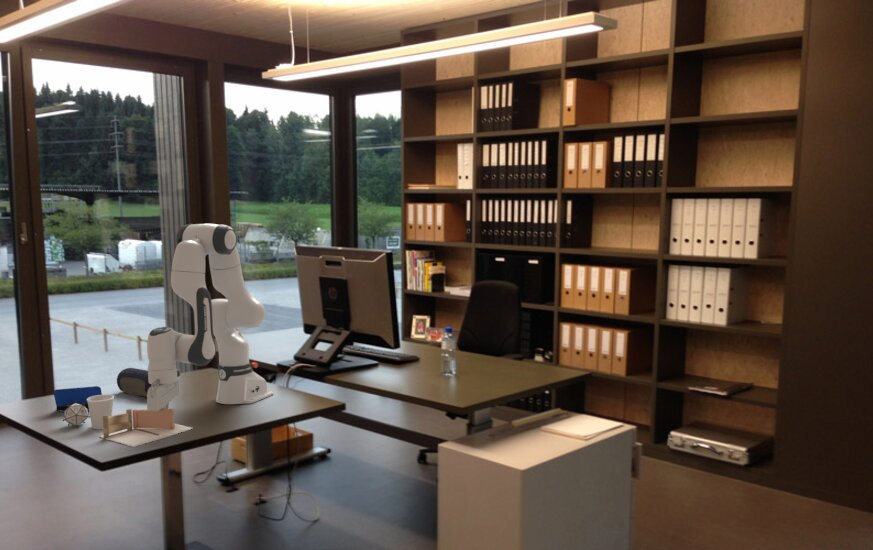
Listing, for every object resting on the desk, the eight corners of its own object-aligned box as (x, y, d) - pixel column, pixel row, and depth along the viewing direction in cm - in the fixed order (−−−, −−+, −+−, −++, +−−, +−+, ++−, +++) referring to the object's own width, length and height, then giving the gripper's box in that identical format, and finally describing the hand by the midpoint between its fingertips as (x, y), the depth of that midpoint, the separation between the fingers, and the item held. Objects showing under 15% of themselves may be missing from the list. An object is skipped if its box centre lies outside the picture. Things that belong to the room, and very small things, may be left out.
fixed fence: (130, 430, 237) (129, 408, 236) (133, 430, 236) (132, 409, 236) (102, 438, 229) (101, 416, 228) (105, 438, 228) (104, 416, 227)
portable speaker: (112, 393, 285) (111, 369, 284) (134, 388, 294) (133, 364, 293) (153, 402, 272) (152, 376, 271) (175, 396, 281) (174, 371, 280)
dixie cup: (105, 431, 237) (103, 401, 236) (82, 429, 238) (81, 400, 237) (120, 423, 245) (119, 395, 244) (98, 422, 246) (97, 393, 245)
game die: (74, 435, 244) (72, 408, 249) (97, 426, 244) (95, 399, 248) (56, 429, 236) (55, 401, 241) (79, 420, 236) (77, 393, 240)
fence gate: (132, 429, 237) (131, 410, 236) (134, 427, 239) (133, 408, 238) (173, 428, 237) (173, 409, 237) (175, 427, 239) (174, 408, 238)
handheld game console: (106, 401, 274) (105, 378, 273) (101, 411, 261) (100, 386, 261) (61, 405, 269) (59, 381, 268) (54, 414, 257) (52, 389, 256)
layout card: (158, 420, 249) (158, 419, 249) (192, 429, 239) (192, 427, 239) (99, 437, 230) (99, 435, 230) (133, 447, 220) (133, 445, 220)
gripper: (160, 384, 228) (162, 426, 230) (182, 369, 249) (183, 408, 250) (140, 384, 228) (142, 426, 230) (163, 369, 249) (165, 408, 250)
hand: (164, 417), depth 240 cm, fingers closed
